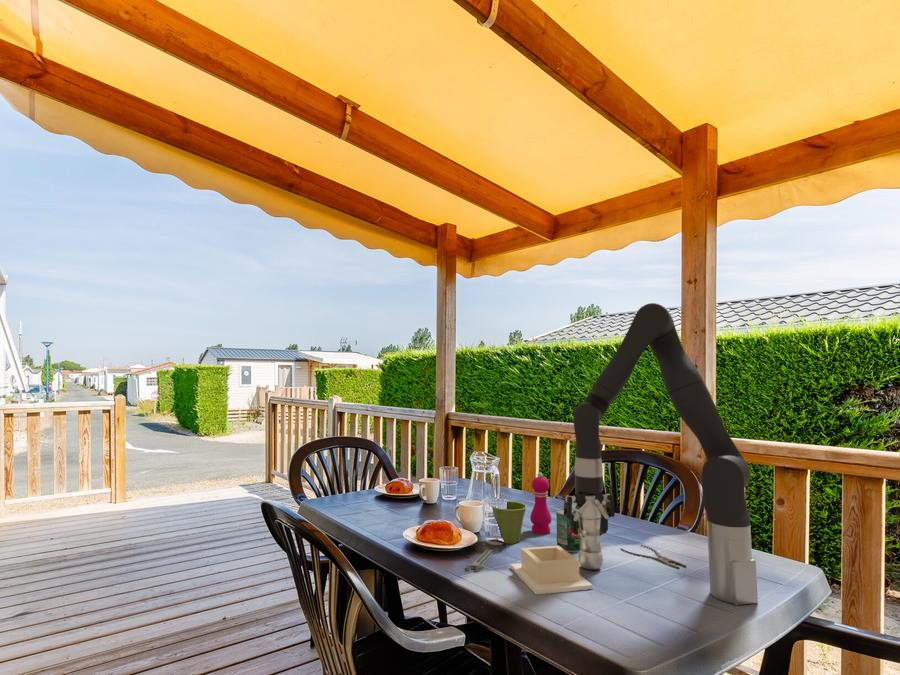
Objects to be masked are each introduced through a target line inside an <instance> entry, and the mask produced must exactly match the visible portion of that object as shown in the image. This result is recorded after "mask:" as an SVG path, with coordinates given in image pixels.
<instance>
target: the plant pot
mask: <svg viewBox="0 0 900 675" xmlns="http://www.w3.org/2000/svg"><path fill="white" fill-rule="evenodd" d="M505 501H506V502H507V509H499V508H496V507H493V506H492V503H490V507H491V508H492V513H493V516H495V518H494V520H495V519H496V521H497V524H498V527H499V530H500V533H501V534H500V535H501V537H502V538H503V540H504V542H505V543H504V544H511V545H512V544H513V545H514V544H516V543H519V542H520V541H521V535H522V528H523V522H524V516H525V514H526V509H527V508H528V505H527V504H526V503H523V502H518V501H513V500H512V501H511V500H505Z"/></svg>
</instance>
